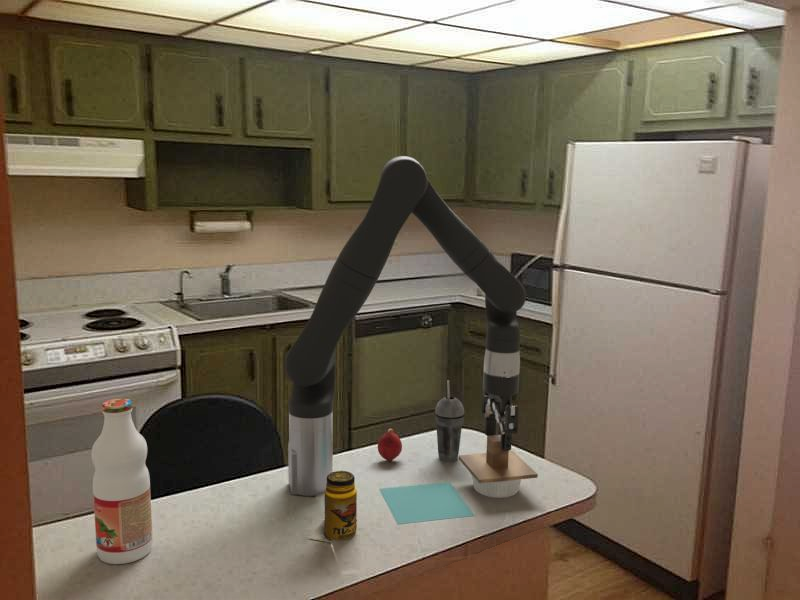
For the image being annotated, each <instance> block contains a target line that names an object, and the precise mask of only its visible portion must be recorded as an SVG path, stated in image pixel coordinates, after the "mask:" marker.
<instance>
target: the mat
mask: <svg viewBox="0 0 800 600" xmlns="http://www.w3.org/2000/svg"><path fill="white" fill-rule="evenodd" d="M378 489H379V492H380V493H381V495H382V498H383V499H384V501H385V503H386V505H387V507H388V509H389V511H390V512H391V514H392V516H393V518H394V520H395V522H396V523H397V525H405V524H412V523H423V522H432V521H433V522H434V521H441V520H450V519H457V518H466V517H476V515H475V513H474V512H473V511H472V509H471V508H470V507H469V505H468V504H467V502H466V501H465V500H464V499H463V498H462V496H461V495H460V494H459V492H458V491H457V490H456V488H455V487H454V486H453V484H452V483H451V481H445V482H436V483H434V482H433V483H424V484H414V485H403V486H394V487H385V488H378Z"/></svg>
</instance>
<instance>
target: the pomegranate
mask: <svg viewBox="0 0 800 600" xmlns="http://www.w3.org/2000/svg"><path fill="white" fill-rule="evenodd" d="M402 443H403V442H402V440H401V438H400V437H399V435H397V434H396V433H395V432H394V430H393V429H392V428H389V429H388V430H387V431H386V433H383V435H381V436H380V438H379V440H378V442H377V450H378V454H379V455H380V457H382V458H383V459H384V460H385V461H387V462H392V461H393V460H395V459H396V458H397V457H398V456H400V454H401V452H402V450H403V444H402Z"/></svg>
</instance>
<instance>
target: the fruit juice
mask: <svg viewBox="0 0 800 600" xmlns="http://www.w3.org/2000/svg"><path fill="white" fill-rule="evenodd" d="M133 407H134V406H133V401H132V400H131V399H128V398H114V399H113V398H112V399H108V400H105V401H104V402H103V403H102V404H101V410H102V414H103V415H104V420H103V421H104V422H103V425H102V426H103V427H102V430H101V432H100V435H99V436H98V438H97V439H96V440H95V442H94V443H93V446H92V447H91V459H92V460H91V461H92V463H93V466H94V468H95V472H94V475H93V478H92V496H93V512H94V527H95V541H96V542H95V543H96V553H97V556H98V558H99V560H100V561H102V562H103V563H106V564H110V565H124V564H129V563H133V562H136V561H138V560H141V559H143V558H144V557H146V556H147V555H148V554H149V553H150V552H151V550H152V548H153V545H154V544H153V541H154V539H153V522H152V519H153V518H152V503H151V502H152V499H151V498H152V497H151V496H152V495H151V482H150V481H151V478H150V472H149V469H148V467H147V465H146V460H147V456H148V445H147V441H146V439H145V437H144V436H143V435H142V434H141V433H140V432H139V431H138V430H137V429H136V427H135V424H134V421H133V418H132V414H131V413H132V411H133Z"/></svg>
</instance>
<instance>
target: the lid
mask: <svg viewBox="0 0 800 600" xmlns="http://www.w3.org/2000/svg"><path fill="white" fill-rule="evenodd" d="M500 441H501V434H495V435H492V436H487V435H486V452H483V453H471V454H464V455H463V454H461V455H459V454H458V460H459V462H461V464H462V465H463V466H464V467H465V468H466V469H467V471H468V472H469V473H470V474H471V476H472V475H473V477H474V478H475V479H476V480H477V481H478V482H479V483H489V482H499V481H509V480H519V479H521V480H528V479H538V477H539V475H538V474H539V473H537V472H536V471H535V470H534V469H533V468H532V467H531V466H530V465H528V464H527V463H526V462H525V461H524V460H523V459H522V458H521V457H520V456H519V455H518V454H517V453H516V452H515V451H514V450H510V451H502V450H501V449H500Z"/></svg>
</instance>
